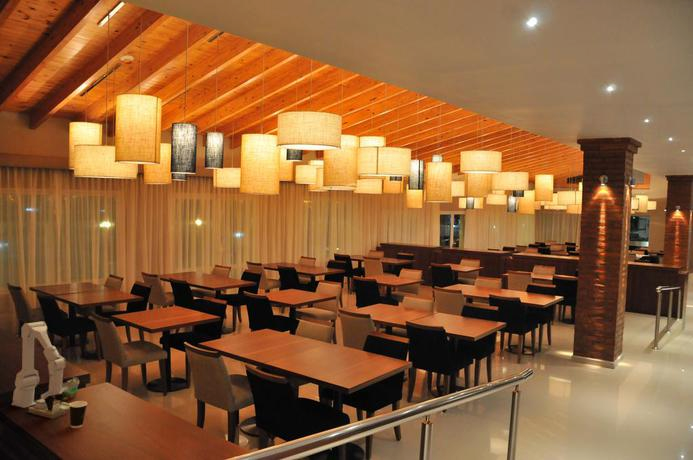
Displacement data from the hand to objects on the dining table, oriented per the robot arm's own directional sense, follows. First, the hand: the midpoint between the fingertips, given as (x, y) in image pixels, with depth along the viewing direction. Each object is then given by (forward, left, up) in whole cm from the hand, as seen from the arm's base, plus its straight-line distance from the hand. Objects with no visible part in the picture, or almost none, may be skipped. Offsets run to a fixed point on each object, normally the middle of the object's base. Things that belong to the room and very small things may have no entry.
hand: (53, 409), depth 263 cm
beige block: (-8, 0, -3) cm, 9 cm away
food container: (-11, +22, -3) cm, 25 cm away
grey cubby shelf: (-4, 0, -3) cm, 5 cm away
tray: (-5, +8, -3) cm, 10 cm away
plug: (0, 0, -2) cm, 2 cm away
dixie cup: (+20, -4, -3) cm, 20 cm away
